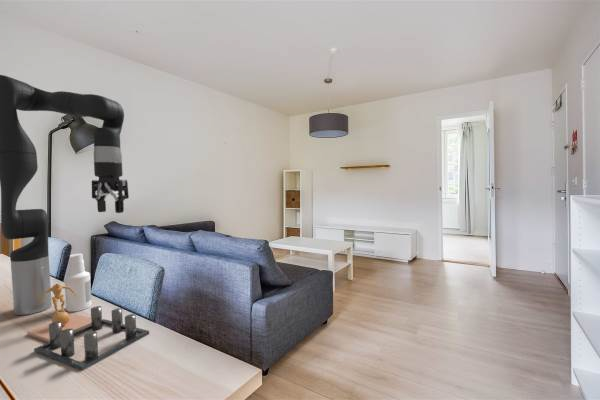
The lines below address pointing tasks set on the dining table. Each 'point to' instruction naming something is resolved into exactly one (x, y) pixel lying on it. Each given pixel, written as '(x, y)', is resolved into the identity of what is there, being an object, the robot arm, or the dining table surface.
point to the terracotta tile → (73, 323)
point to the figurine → (56, 290)
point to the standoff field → (89, 338)
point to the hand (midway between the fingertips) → (110, 212)
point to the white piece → (77, 285)
